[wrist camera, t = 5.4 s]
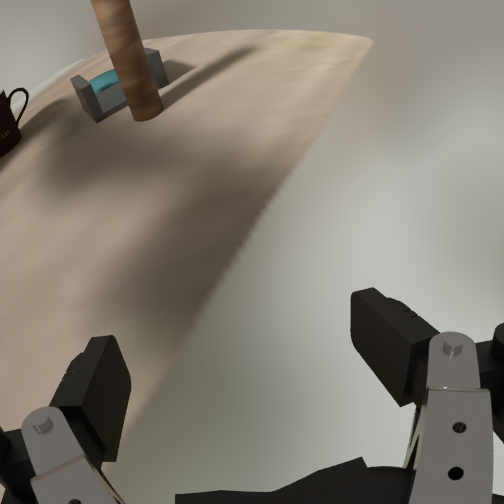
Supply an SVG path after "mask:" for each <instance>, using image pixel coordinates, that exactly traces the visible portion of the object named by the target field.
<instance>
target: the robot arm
mask: <svg viewBox="0 0 504 504" xmlns="http://www.w3.org/2000/svg"><path fill="white" fill-rule="evenodd" d="M350 332H351V339H352V342H353V345H354V347H355V349H356V350H357V351H358V353H359V354H360V355H361V357H362V358H363V359H364V361H365V362H366V363H367V364H368V366H369V367H370V368H371V369H372V371H373V372H374V373H375V375H376V376H377V377H378V379H379V380H380V381H381V383H382V384H383V385H384V386H385V388H386V389H387V390H388V392H389V393H390V394H391V396H392V397H393V398H394V400H395V401H396V402H397V404H398V405H399V406H400V407H402V406H405V405H407V404H410V403H412V402H414V403H415V405H416V409H415V413H414V418H413V424H412V429H411V435H410V439H409V444H408V449H407V454H406V458H405V461H404V465H403V468H401V467H392V466H378V467H367V466H366V464H365V462H364V460H363V458H362V457H359V458H356V459H354V460H351V461H348V462H345V463H341V464H338V465H336V466H332V467H329V468H325V469H322V470H318V471H316V472H314V473H312V474H310V475H308V476H306V477H305V478H302V479H300V480H298V481H296V482H294V483H292V484H290V485H287V486H285V487H283V488H281V489H279V490H276V491H272V492H243V491H225V490H219V491H210V492H200V493H188V494H175V504H504V496H501V495H497V494H493V493H492V486H493V431H494V432H495V433H496V435H497V436H498V437H499V438H500V439H501V441H502V442H503V443H504V323H502V324H500V325H498V326H497V327H496V328H495V332H494V336H493V339H492V340H490V341H485V342H479V343H474V341H473V340H472V339H470V337H468V336H466V335H464V334H462V333H458V332H443V333H440V332H438V331H437V330H436V329H435V328H434V327H433V326H431V325H430V324H429V323H428V322H426V321H425V320H424V319H423V318H421V317H420V316H418V315H417V314H416V313H415V312H414V311H411V309H410V308H409V307H407V306H406V305H405V304H404V303H402V302H400V301H397V300H395V299H392V298H386V297H385V296H384V295H382V294H381V293H380V292H379V291H378V290H377V289H375V288H373V287H372V288H368V289H364V290H359V291H356V292H353V293H352V294H351V328H350ZM130 392H131V378H130V374H129V371H128V369H127V366H126V364H125V361H124V359H123V356H122V353H121V351H120V348H119V345H118V343H117V340H116V338H115V337H114V336H113V335H108V336H99V337H92V338H91V339H90V341H89V343H88V345H87V347H86V349H85V351H84V353H80V354H79V355H78V356H77V357H76V358H75V359H74V360H72V361H71V363H70V365H69V367H68V369H67V370H66V374H64V376H63V378H62V382H60V384H59V386H58V388H57V390H56V392H55V394H54V396H53V398H52V400H51V402H50V404H49V407H42V408H39V409H37V410H35V411H33V412H32V413H30V414H29V415H28V416H27V417H26V418H25V420H24V421H23V423H22V427H21V429H16V430H11V431H6V432H4V431H3V429H2V428H1V427H0V483H1V484H2V486H3V487H4V488H5V492H4V495H3V498H2V502H1V504H126V503H125V501H124V500H123V499H122V498H121V496H120V495H119V494H118V492H117V491H116V489H115V488H114V487H113V485H112V484H111V483H110V481H109V480H108V478H107V477H106V475H105V474H104V473H103V471H102V470H101V466H102V462H116V460H117V454H118V449H119V444H120V439H121V434H122V429H123V424H124V419H125V415H126V410H127V406H128V401H129V397H130Z"/></svg>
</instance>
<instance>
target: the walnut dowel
mask: <svg viewBox="0 0 504 504" xmlns="http://www.w3.org/2000/svg"><path fill="white" fill-rule="evenodd" d="M91 3H92V6H93V9H94V12H95V15H96V18H97V21H98V24H99V26H100V29H101V33H102V35H103V38H104V41H105V44H106V46H107V49H108V52H109V55H110V58H111V60H112V63H113V66H114V69H115V71H116V74H117V77H118V79H119V82H120V84H121V87H122V90H123V92H124V95H125V97H126V100H127V103H128V105H129V108H130V110H131V113H132V115H133V118H134V120H135V121H146V120H149V119H151V118H154V117H155V116H157V115H158V114H160V113H161V112H162V110H163V105H162V102H161V99H160V96H159V93H158V90H157V87H156V84H155V81H154V78H153V75H152V72H151V69H150V66H149V63H148V60H147V57H146V53H145V50H144V47H143V44H142V41H141V38H140V35H139V31H138V28H137V25H136V21H135V18H134V15H133V11H132V8H131V5H130V1H129V0H91Z"/></svg>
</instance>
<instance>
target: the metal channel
mask: <svg viewBox="0 0 504 504" xmlns="http://www.w3.org/2000/svg"><path fill="white" fill-rule="evenodd" d="M144 50H145V53H146V57H147V60H148V63H149V66H150V69H151V72H152V75H153V78H154V81H155V84H156V87H157V90H159V89H161V88H163V87H165V86H167V85H169V83H168V80H167V77H166V73H165V70H164V67H163V63H162V60H161V57H160V53H159V51H158V50H153V49H149V48H144ZM70 80H71V82H72V84H73V87H74V89H75V91H76V93H77V96H78V98H79V100H80V102H81V104H82V107H83V108H84V109H85V111H86V112H87V113H88V114H89V115H90V116H91V118H92V119H93V120H94V121H95V122H96V123H98V122H100V121H102V120H103V119H105V118H107V117H108V116H110V115H112V114H114V113H115V112H117V111H119V110H121V109H123V108H124V107H126V106H128V103H127V100H126V97H125V95H124V92H123V90H122V87H121V84H120V82H119V83H117V84H115V85H113V86H111V87H109V88H107V89H106V90H104V91H102V92H100V93H98V94H97V95H95V92H94V90H93V88H92V85H91V84H90V83H89V82H88V81H86V80H85V79H84V78H82V77H81V76H80V75H76V76H75V77H73V78H71V79H70Z"/></svg>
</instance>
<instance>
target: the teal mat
mask: <svg viewBox="0 0 504 504" xmlns="http://www.w3.org/2000/svg"><path fill="white" fill-rule="evenodd" d="M89 83H90V84H91V85H92V88H93V90H94V92H95V95H97V94H98V93H100V92H102V91H104V90H106V89H107V88H109V87H111V86H113V85H115V84H117V83H119V79H118V77H117V74H116V71H115V69H113V70H110V71H107V72H105V73H103V74H100V75H99V76H97V77H95V78H93V79H92V80H90V81H89Z"/></svg>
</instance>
